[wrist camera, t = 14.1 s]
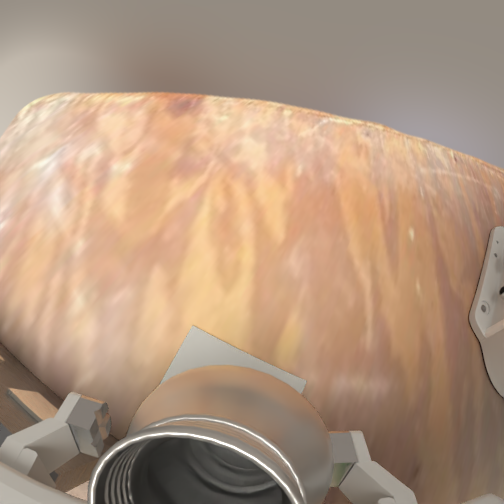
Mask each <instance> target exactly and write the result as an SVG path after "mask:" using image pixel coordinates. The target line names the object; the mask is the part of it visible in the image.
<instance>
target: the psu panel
mask: <svg viewBox="0 0 504 504" xmlns="http://www.w3.org/2000/svg"><path fill="white" fill-rule="evenodd" d="M63 402H64V401H63V400H62V399H61V398H60V397H59V396H57V395H56V394H55V393H54V392H53V391H51V390H50V389H49V388H48V387H47V386H45V385H44V384H43V383H42V382H41V381H40V380H39V379H37V378H36V377H35V376H34V375H33V374H32V373H31V372H30V371H29V370H28V369H27V368H25V367H24V366H23V365H22V364H21V363H20V362H19V361H18V360H17V359H16V358H15V357H14V356H13V355H12V354H11V353H10V352H9V351H8V350H7V349H6V348H5V347H4V346H3V345H2V344H1V343H0V447H1V446H2V444H3V442H4V441H5V439H6V438H7V437H8V436H10V435H12V434H15V433H17V432H19V431H21V430H24V429H26V428H28V427H30V426H33V425H35V424H37V423H39V422H41V421H43V420H46V419H48V418H50V417H51V418H54V417H55V415H56V413H57V412H58V410H59V408H60V407H61V405H62V404H63ZM118 441H119V440H117V439H116V438H114V437H113V436H111V435H110V434H109V435H108V437H107V438H106V439H104V440H103V443H104V447H103V450H102V452H101V454H100V457H101V456H102V455H103V454H104V453H105V452H106V451H107V450H108V449H109V448H111V447H112V446H113V445H114V444H115V443H116V442H118ZM100 457H99V458H98V457H95V456H91V455H88V454H85V453H82V452H80V453H79V454H77V455H76V456H75V457H73V458H72V459H70V460H69V461H67V462H66V463H64V464H63V465H61V466H60V467H59V468H57V469H56V470H54V471H53V472H51V473H50V474H49V475H50V476H51V478H52V479H53V481H54V482H55V484H56V488H55V489H57V490H59V491H62V492H64V493H65V492H67V491H69V490H71V489H73V488H75V487H77V486H79V485H81V484H82V483H84V482H86V481H88V480H90V477H91V473H92V471H93V469H94V467H95V466H96V464H97V462H98V460H99V459H100Z"/></svg>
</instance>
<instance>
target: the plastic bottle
mask: <svg viewBox="0 0 504 504" xmlns="http://www.w3.org/2000/svg"><path fill="white" fill-rule="evenodd" d="M333 469H334V455H333V445H332V442H331V439H330V436H329V433H328V430H327V427H326V426H325V424H324V422H323V420H322V419H321V417H320V415H319V414H318V412H317V411H316V410H315V408H314V407H313V406H312V405H311V404H310V403H309V402H308V400H307V399H306V398H305V397H304V396H303V395H301V394H300V393H299V392H297V391H296V390H295V389H294V388H292V387H291V386H290V385H289V384H287V383H285V382H283V381H281V380H279V379H277V378H276V377H274V376H272V375H270V374H267V373H264V372H261V371H258V370H255V369H252V368H247V367H240V366H234V365H208V366H204V367H199V368H194V369H189V370H187V371H185V372H182V373H180V374H177V375H175V376H173V377H171V378H170V379H168V380H167V381H165V382H164V383H162V384H161V385H159V386H158V387H157V388H156V389H155V390H154V391H153V392H152V393H151V394H150V395H149V396H148V397H147V398H146V399H145V400H144V401H143V403H142V404H141V405H140V407H139V408H138V410H137V411H136V413H135V415H134V416H133V418H132V420H131V423H130V426H129V429H128V432H127V435H126V437H125V438H123V439H121V440H120V441H118V442H116V443H115V444H114V445H113V446H112V447H111V448H109V449H108V450H107V451H106V452H105V453H104V454H103V455H102V456H101V457H100V459H99V460H98V462H97V464H96V466H95V467H94V469H93V471H92V473H91V477H90V481H89V484H88V502H87V503H88V504H322V503H323V501H324V499H325V497H326V494H327V492H328V490H329V487H330V485H331V482H332V476H333Z"/></svg>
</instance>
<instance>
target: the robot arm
mask: <svg viewBox="0 0 504 504" xmlns="http://www.w3.org/2000/svg"><path fill="white" fill-rule="evenodd" d="M481 309H482V310H481ZM469 321H470V324H471V327H472V329H473V331H474V332H475V334H476V336H477V338H478V339H479V341H480V344H481V347H482V351H483V356H484V360H485V365H486V368H487V371H488V374H489V377H490V379H491V381H492V383H493V385H494V387H495V388H496V390H497V391H498V392H499V394H500V395H501V396H502V397H504V227H502V226H498V227H495V228H493V229H492V230H491V233H490V238H489V242H488V247H487V252H486V256H485V260H484V264H483V268H482V272H481V276H480V280H479V284H478V287H477V291H476V294H475V298H474V301H473V304H472V307H471V310H470V314H469ZM108 409H109V408H108V405H107V403H106V402H103V401H100V400H97V399H94V398H91V397H87V396H84V395H81V394H78V393H75V392H71V393H69V394H68V396H67V397H66V399H65V400H64V402H63V404H62V405H61V407H60V408H59V410H58V412H57V413H56V415H55V417H54V418H51V417H50V418H48V419H46V420H43V421H41V422H39V423H37V424H35V425H33V426H30V427H28V428H26V429H24V430H21V431H19V432H17V433H15V434H12V435H10V436H8V437H7V438H6V439H5V441H4V442H3V444H2V446H1V447H0V504H88V503H87V502H88V501H85V500H82V499H80V498H77V497H74V496H72V495H69V494H67V493H64V492H62V491H59V490H57V489H55V488H56V484H55V482H54V481H53V479H52V478H51V476H50V475H49V474H50V473H51V472H53V471H54V470H56V469H57V468H59V467H60V466H61V465H63V464H64V463H66V462H67V461H69V460H70V459H72V458H73V457H75V456H76V455H77V454H79V453H80V452H82V453H85V454H88V455H91V456H95V457H98V458H99V457H100V454H101V452H102V450H103V447H104V443H103V440H104V439H106V438H107V437H108V435H109V433H110V429H111V417H110V415H109V414H108V413H107V411H108ZM328 433H329V436H330V439H331V442H332V445H333V455H334V469H333V476H332V482H331V485H330V487H338V488H339V489H340V490H341V491H342V492H343V493H344V495H345V496H346V497H347V498H348V499H349V500H350V501H351V503H352V504H418V503H417V500H416V498H415V495H414V492H413V491H412V490H410V489H409V488H408V487H407V486H405V485H404V484H403V483H402V482H400V481H399V480H398V479H396V478H395V477H394V476H393V475H391V474H390V473H389V472H388V471H387V470H385V469H384V468H383V467H382V466H380V465H379V464H378V463H377V462H376V461H371V457H370V454H369V451H368V448H367V445H366V442H365V439H364V436H363V433H362V431H361V430H360V431H328ZM460 504H504V499H502V498H500V497H499V496H496V495H494V494H491V493H489V494H485V495H482V496H479V497H477V498H474V499H471V500H469V501H466V502H463V503H460Z"/></svg>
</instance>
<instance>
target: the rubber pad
mask: <svg viewBox="0 0 504 504" xmlns="http://www.w3.org/2000/svg"><path fill="white" fill-rule="evenodd" d="M208 365H234V366H240V367H247V368H252V369H255V370H258V371H261V372H264V373H267V374H270V375H272V376H274V377H276V378H277V379H279V380H281V381H283V382H285V383H287V384H289V385H290V386H291V387H292V388H294V389H295V390H296V391H297V392H299V393H300V394H301V393H302V391H303V389H304V387H305V385H306V382H307V381H306V380H304V379H301V378H299V377H297V376H295V375H292V374H290V373H288V372H286V371H284V370H281V369H279V368H277V367H275V366H273V365H271V364H268V363H266V362H264V361H262V360H260V359H258V358H256V357H254V356H252V355H250V354H248V353H245V352H243V351H241V350H239V349H237V348H235V347H233V346H231V345H229V344H227V343H225V342H223V341H222V340H220V339H218V338H216V337H214V336H212V335H210V334H208V333H206V332H204V331H202V330H200V329H199V328H197V327H195V326H192V327H191V329H190V331H189V333H188V335H187V336H186V338H185V340H184V342H183V343H182V345H181V347H180V349H179V351H178V352H177V354H176V356H175V358H174V359H173V361H172V363H171V365H170V367H169V368H168V370H167V372H166V374H165V376H164V377H163V379H162V381H161V383H160V385H161V384H162V383H164V382H165V381H167V380H168V379H170V378H171V377H173V376H175V375H177V374H180V373H182V372H185V371H187V370H189V369H194V368H199V367H204V366H208Z"/></svg>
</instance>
